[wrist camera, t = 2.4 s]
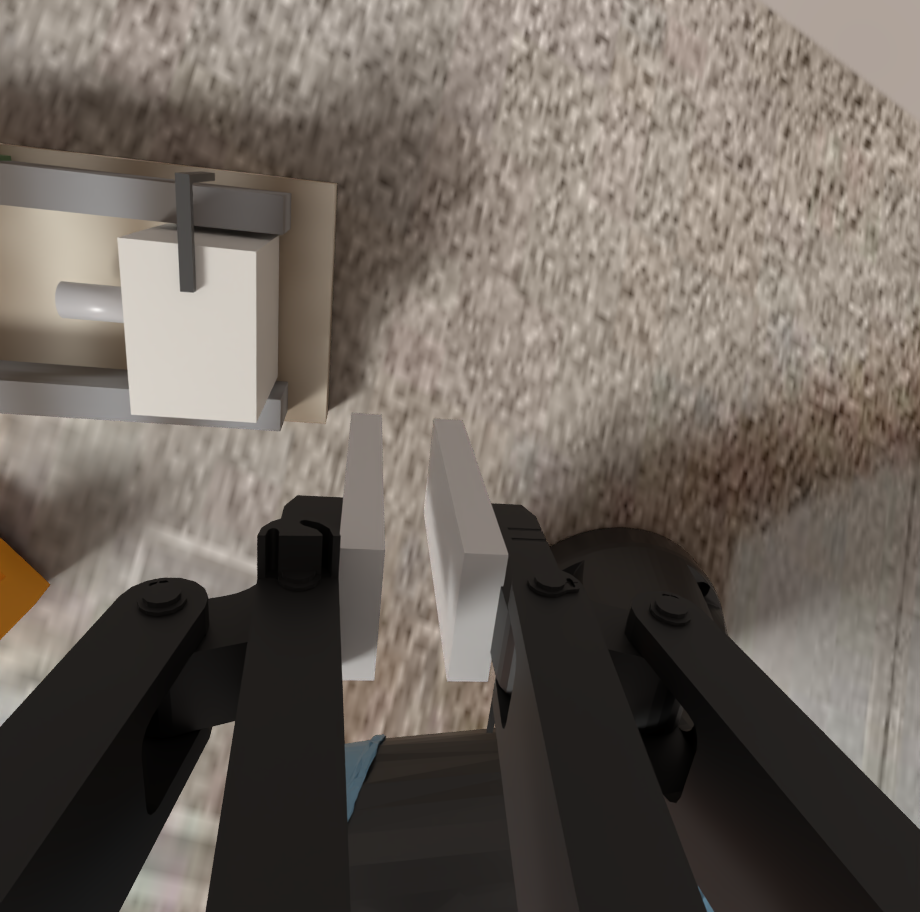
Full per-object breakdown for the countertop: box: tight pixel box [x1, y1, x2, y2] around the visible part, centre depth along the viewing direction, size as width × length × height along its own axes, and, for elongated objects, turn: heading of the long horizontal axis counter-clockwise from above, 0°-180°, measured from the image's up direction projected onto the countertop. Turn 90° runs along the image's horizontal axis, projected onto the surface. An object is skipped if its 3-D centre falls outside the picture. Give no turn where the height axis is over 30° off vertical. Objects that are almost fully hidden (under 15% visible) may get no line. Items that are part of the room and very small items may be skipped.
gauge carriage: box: [55, 171, 279, 423], centre depth 29 cm, size 9×10×7 cm
